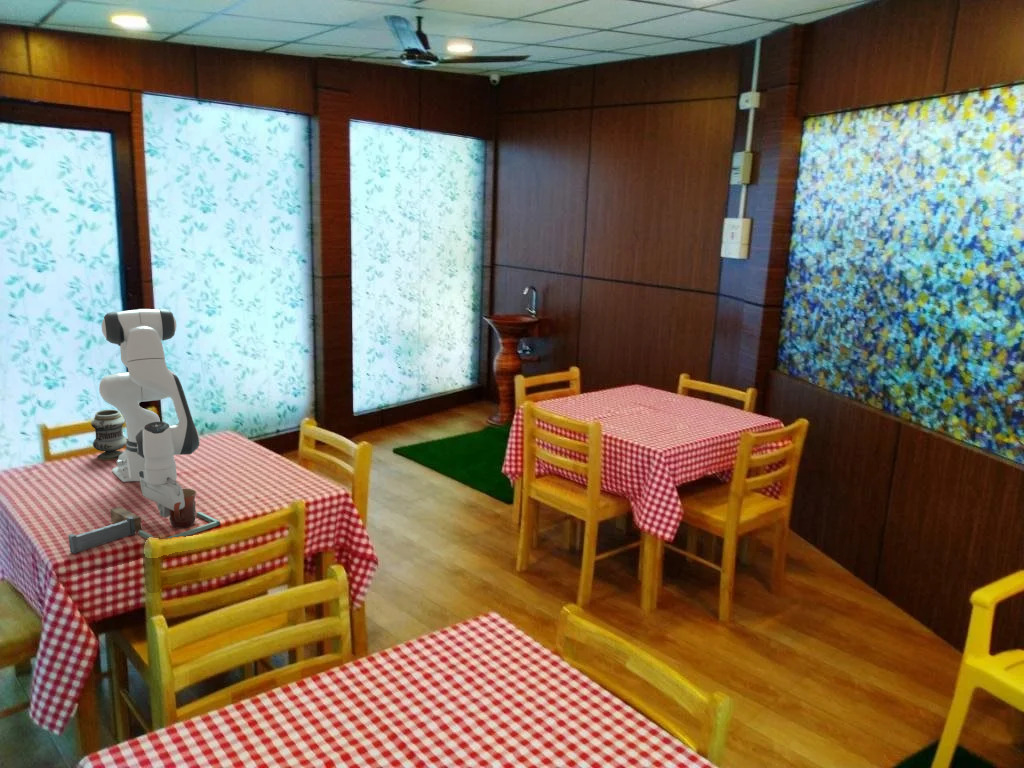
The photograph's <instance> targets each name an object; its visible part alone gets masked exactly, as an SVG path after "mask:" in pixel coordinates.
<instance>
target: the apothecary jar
mask: <svg viewBox="0 0 1024 768" xmlns="http://www.w3.org/2000/svg"><path fill="white" fill-rule="evenodd" d="M124 424H126V423H125V420H124V417H123V416H122V414H121V413H120V411H119V410H118V409H103V410H98V411H96V412H95V413H94V418H92V420H91V422H90V425H91V427H92V428H93V429H94V431H95V439H94V440H93V442H92V447H93V448H94V449H95V450H97V451H101V453H100V454H98V455H97V459H98V460H102V461H113V460H116V459H117V460H118V458H119V456H120V455H121V454H122V453H123V452H124V451H120V450H121V449H123V448H124V447H126V443H127V442H126V441H127V440H126V439H128V437H126V436H125V435H124V433H123V426H124Z"/></svg>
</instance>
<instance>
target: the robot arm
mask: <svg viewBox="0 0 1024 768" xmlns="http://www.w3.org/2000/svg"><path fill="white" fill-rule="evenodd" d="M176 331H177V321H176V318H175V316H174V315H173V312H171V311H170V310H169V309H165V308H159V309H153V308H152V309H151V308H137V309H131V310H130V309H129V310H121V311H116V310H115V311H112V312H110V311H109V312H107V313H106V314H105V315H104V316H103V319H102V322H101V332H102V334H103V336H104V338H105V339H106V341H107V342H108V343H110V344H112V345H113V344H114V345H117V346H119V347H120V361H121V362H122V364H123V366H125V367H126V368H127V370H128V371H126V372H116V373H112V374H109V375H106V376H103V378H102V379H101V381H100V383H99V385H98V387H99V388H98V391H99V394H100V397H101V399H102V400H104V401H105V403H106V404H107V403H108V404H109V405H111V406H113V407H114V408H116V410H118V411H119V412H120V415H121V416H122V417H124V420H125V423H124V424H125V428H126V433H127V434H126V435H127V439H126V440H127V441H126V442H127V443H126V445H125V450H123V451H122V452H123V453H122V454H121V455H120V456H119V458H117V460H116V466H115V467H113V468H112V469H111V470H112V471H111V472H112V473H113V474H114V475H115V476H116V477H117V478H118V479H119V480H121V482H122V483H123V482H124V483H125V482H126V483H127V482H128V483H129V482H139V483H140V484H139V485H140V490H141V494H142V495H143V497H144V498H146V499H148V500H150V501H152V502H154V503H156V506H157V509H158V511H159V515H160V517H163V518H165V519H166V518H170V516H169V509H171V510H173V511H174V504H176V503H178V502H181V504H180V507H179V510H180V509H183V508H184V507H185V501H184V494H183V490H182V489H183V488H182V486H181V485H180V484H179V483H178V481H177V478H178V476H177V475H178V473H177V463H176V461H175V457H174V456H176V455H183V456H184V455H191V454H193V453H194V452H196V450H197V449H198V448H199V447H200V443H201V442H200V434H199V431H198V429H197V427H196V426H195V423H194V420H193V417H192V414H191V410H190V408H189V404H188V401H187V398H186V394H185V392H184V391H185V390H184V389H183V385H182V382H181V380H180V379H179V377H178V376H177V375H176V374H175V372H173V371H172V370H170V369H169V368H168V366H167V363H166V358H165V357H166V356H165V351H164V346H163V343H162V342H164V341H167V340H168V341H169V340H171V339H172V338H174V336H175V334H176ZM167 398H170V399H171V401H172V404H173V407H174V410H175V413H176V416H177V420H178V423H177V424H168V422H164V421H161V420H160V417H159V415H158V413H156V412H154V411H153V410H149V409H148V408H147V409H146V408H143V407H142V406H140V403H141V402H151V401H160V400H161V401H162V400H165V399H167Z"/></svg>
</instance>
